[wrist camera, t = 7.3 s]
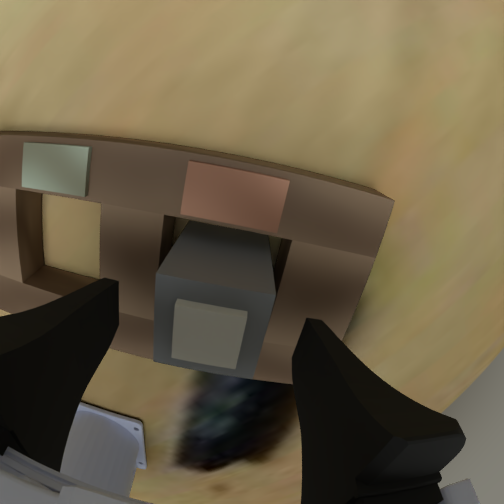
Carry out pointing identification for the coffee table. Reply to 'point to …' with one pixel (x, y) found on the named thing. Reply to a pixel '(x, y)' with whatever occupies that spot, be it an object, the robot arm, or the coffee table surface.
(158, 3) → the coffee table surface
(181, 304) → the plug
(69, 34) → the coffee table surface
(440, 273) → the coffee table surface
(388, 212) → the socket board
